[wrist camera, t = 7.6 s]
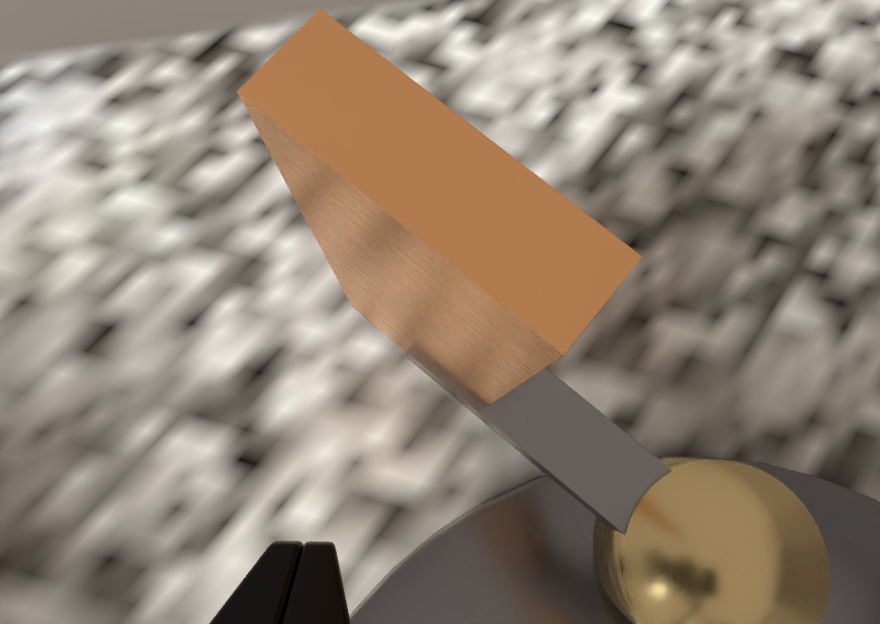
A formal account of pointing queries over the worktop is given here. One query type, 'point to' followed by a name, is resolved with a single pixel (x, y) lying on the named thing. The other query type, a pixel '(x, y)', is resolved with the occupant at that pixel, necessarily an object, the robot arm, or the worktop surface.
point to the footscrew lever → (518, 327)
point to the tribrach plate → (589, 561)
